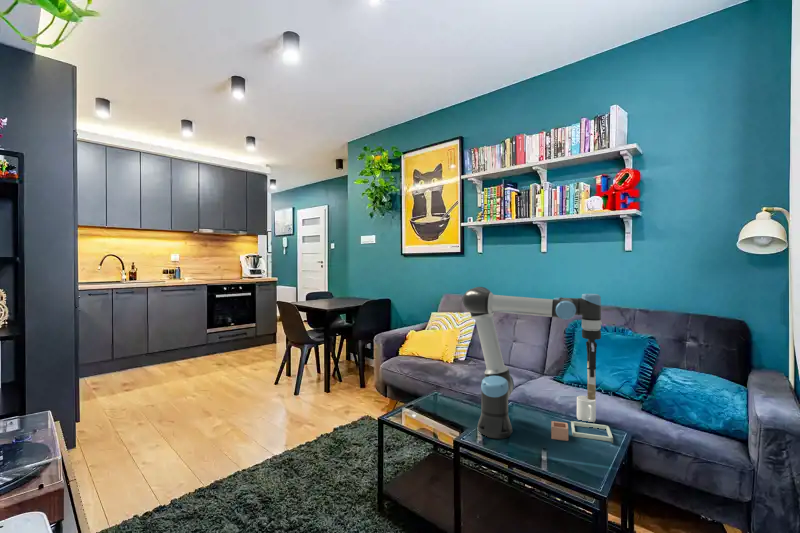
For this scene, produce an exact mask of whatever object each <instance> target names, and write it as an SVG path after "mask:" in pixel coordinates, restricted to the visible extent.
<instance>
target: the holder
mask: <svg viewBox="0 0 800 533" xmlns="http://www.w3.org/2000/svg"><path fill="white" fill-rule="evenodd" d="M550 425H551V429H550V433H551V440H556V441H557V440H558V441H566V442H568V441H569V424H568V423H567V422H563V421H554V420H551V421H550Z"/></svg>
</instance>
